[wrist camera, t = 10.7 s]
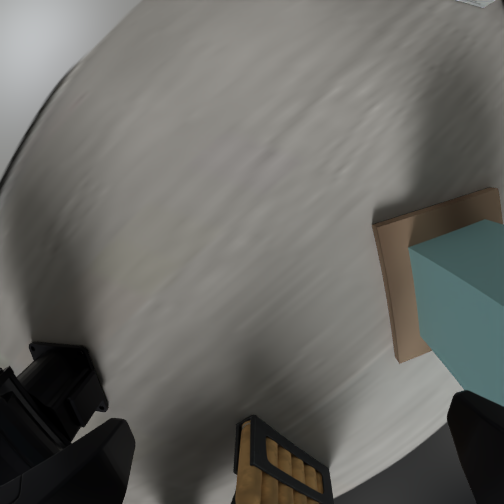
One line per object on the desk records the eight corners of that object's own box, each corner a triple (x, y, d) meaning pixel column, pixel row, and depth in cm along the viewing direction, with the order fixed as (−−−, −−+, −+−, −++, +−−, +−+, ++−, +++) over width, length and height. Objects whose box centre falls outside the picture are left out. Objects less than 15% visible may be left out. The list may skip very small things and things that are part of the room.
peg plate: (394, 356, 21) (420, 397, 16) (371, 224, 19) (404, 242, 14) (498, 310, 20) (534, 336, 15) (489, 187, 18) (535, 194, 13)
